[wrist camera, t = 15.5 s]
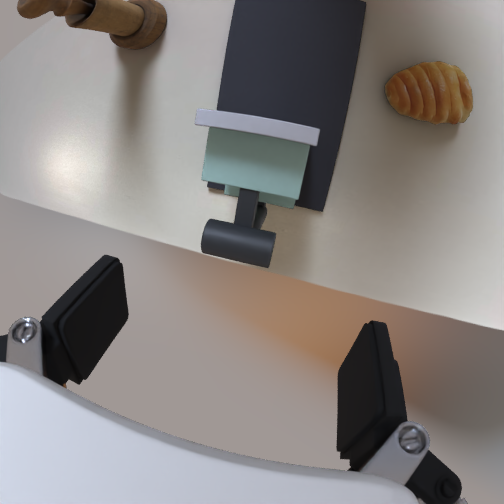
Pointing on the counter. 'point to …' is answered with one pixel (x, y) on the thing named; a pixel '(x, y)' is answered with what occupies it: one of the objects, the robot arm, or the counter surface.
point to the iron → (252, 178)
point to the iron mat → (295, 74)
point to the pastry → (431, 93)
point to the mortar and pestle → (106, 17)
